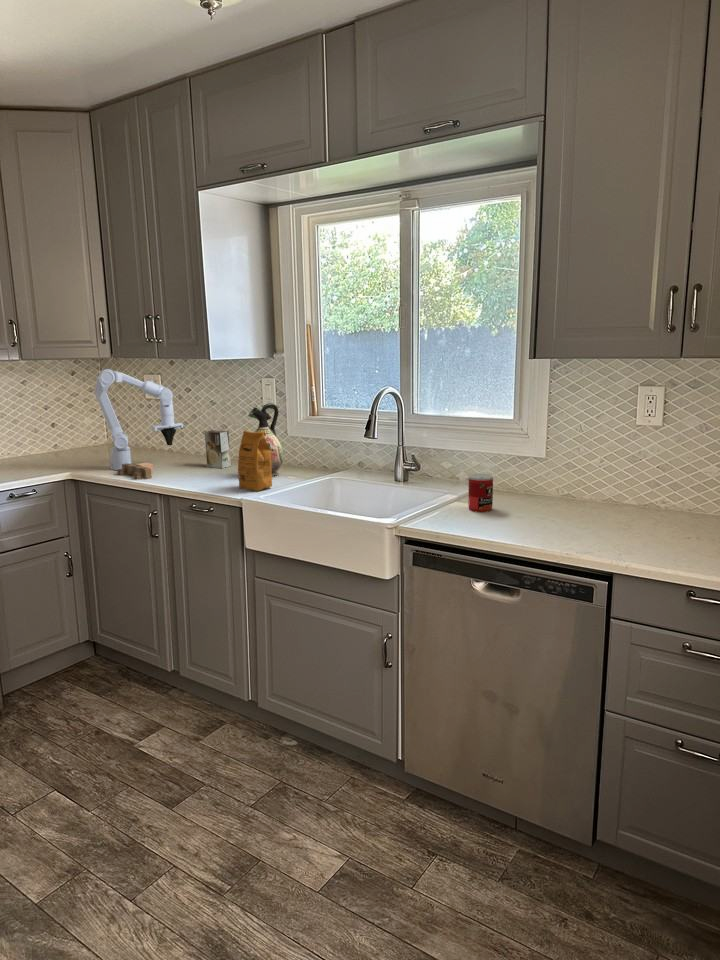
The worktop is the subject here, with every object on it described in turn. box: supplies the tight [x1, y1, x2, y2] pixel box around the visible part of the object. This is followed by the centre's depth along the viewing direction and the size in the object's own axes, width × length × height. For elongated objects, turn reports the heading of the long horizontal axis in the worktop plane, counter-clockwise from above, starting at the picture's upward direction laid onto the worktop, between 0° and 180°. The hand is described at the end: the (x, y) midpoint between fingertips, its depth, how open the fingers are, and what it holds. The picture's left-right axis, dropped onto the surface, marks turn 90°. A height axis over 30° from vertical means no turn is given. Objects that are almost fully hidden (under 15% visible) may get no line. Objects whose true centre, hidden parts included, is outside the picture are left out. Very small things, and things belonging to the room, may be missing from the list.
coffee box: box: [204, 429, 232, 469], centre depth 306 cm, size 9×6×16 cm
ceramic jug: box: [248, 402, 284, 477], centre depth 283 cm, size 17×15×30 cm
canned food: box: [467, 473, 494, 513], centre depth 222 cm, size 8×8×11 cm
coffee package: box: [237, 429, 273, 492], centre depth 259 cm, size 10×12×22 cm
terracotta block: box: [134, 462, 154, 475], centre depth 293 cm, size 6×5×4 cm
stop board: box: [117, 463, 153, 480], centre depth 289 cm, size 20×5×4 cm, turn 47°
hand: (169, 445), depth 310 cm, fingers closed
